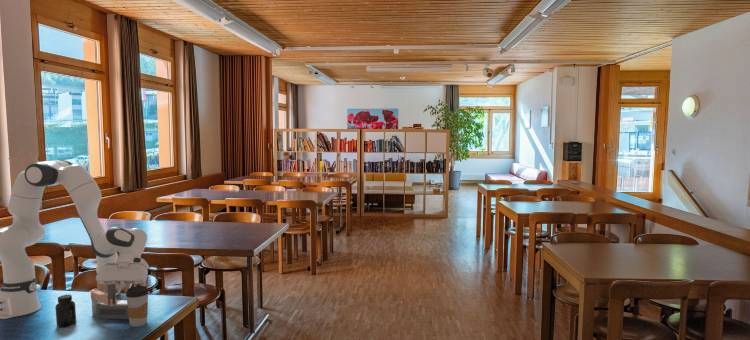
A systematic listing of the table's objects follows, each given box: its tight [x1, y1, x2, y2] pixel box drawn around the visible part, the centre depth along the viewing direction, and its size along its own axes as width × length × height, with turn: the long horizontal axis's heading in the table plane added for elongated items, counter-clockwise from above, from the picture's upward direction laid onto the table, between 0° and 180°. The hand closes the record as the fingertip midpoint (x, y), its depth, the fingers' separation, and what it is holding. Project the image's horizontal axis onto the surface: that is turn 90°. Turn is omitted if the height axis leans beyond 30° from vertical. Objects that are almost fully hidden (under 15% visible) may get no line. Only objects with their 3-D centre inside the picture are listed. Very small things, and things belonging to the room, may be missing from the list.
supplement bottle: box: [54, 294, 77, 329], centre depth 191 cm, size 7×7×12 cm
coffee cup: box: [125, 285, 149, 328], centre depth 191 cm, size 8×8×15 cm
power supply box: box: [91, 299, 129, 320], centre depth 200 cm, size 18×6×8 cm, turn 88°
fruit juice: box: [95, 251, 120, 296], centre depth 226 cm, size 9×9×28 cm
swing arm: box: [90, 284, 118, 306], centre depth 195 cm, size 18×3×8 cm, turn 56°
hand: (115, 292), depth 193 cm, fingers closed, pressing on swing arm
